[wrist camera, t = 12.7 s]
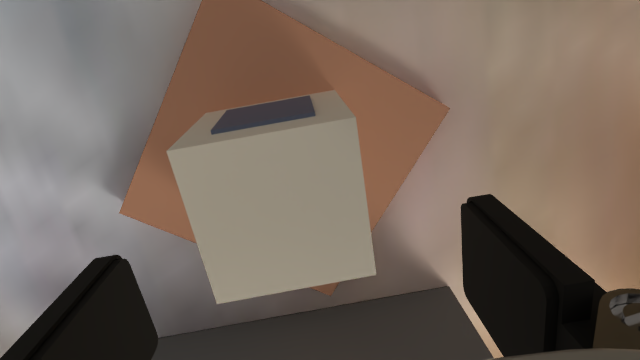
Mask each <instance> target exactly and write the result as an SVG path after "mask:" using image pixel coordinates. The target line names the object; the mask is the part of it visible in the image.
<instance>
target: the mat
mask: <svg viewBox="0 0 640 360" xmlns="http://www.w3.org/2000/svg"><path fill="white" fill-rule="evenodd" d="M331 90H335V91H336V92H337V93H338V95H339V96H340V97H341V99H342V100H343V101H344V103H345V104H346V105H347V106H348V108H349V109H350V110H351V112H352V113H353V114H354V115H355V117H356V122H357V130H358V138H359V145H360V153H361V161H362V168H363V176H364V184H365V191H366V199H367V207H368V214H369V222H370V229H371V232H372V230H373V229H374V227H375V226H376V224H377V223H378V221H379V219H380V218H381V216H382V215H383V213H384V212H385V210H386V208H387V207H388V205H389V204H390V202H391V201H392V199H393V197H394V196H395V194H396V193H397V191H398V190H399V188H400V186H401V185H402V183H403V182H404V180H405V179H406V177H407V175H408V174H409V172H410V171H411V169H412V168H413V166H414V164H415V163H416V161H417V160H418V158H419V157H420V155H421V153H422V152H423V150H424V149H425V147H426V146H427V144H428V142H429V141H430V139H431V138H432V136H433V135H434V133H435V131H436V130H437V128H438V127H439V125H440V124H441V122H442V120H443V119H444V117H445V116H446V114H447V113H448V111H449V109H450V108H449V107H447V106H445V105H444V104H442V103H440V102H438V101H437V100H435V99H433V98H431V97H430V96H428V95H426V94H424V93H423V92H421V91H419V90H417V89H416V88H414V87H412V86H410V85H408V84H407V83H405V82H403V81H401V80H400V79H398V78H396V77H394V76H393V75H391V74H389V73H387V72H386V71H384V70H382V69H380V68H379V67H377V66H375V65H373V64H372V63H370V62H368V61H366V60H365V59H363V58H361V57H359V56H358V55H356V54H354V53H352V52H351V51H349V50H347V49H345V48H344V47H342V46H340V45H338V44H337V43H335V42H333V41H331V40H330V39H328V38H326V37H324V36H323V35H321V34H319V33H317V32H315V31H314V30H312V29H310V28H308V27H307V26H305V25H303V24H301V23H300V22H298V21H296V20H294V19H293V18H291V17H289V16H287V15H286V14H284V13H282V12H280V11H279V10H277V9H275V8H273V7H272V6H270V5H268V4H266V3H265V2H263V1H261V0H202V2H201V4H200V7H199V10H198V12H197V15H196V17H195V20H194V22H193V25H192V28H191V30H190V33H189V35H188V38H187V40H186V43H185V46H184V48H183V51H182V53H181V56H180V58H179V61H178V63H177V66H176V69H175V71H174V74H173V76H172V79H171V81H170V84H169V87H168V89H167V92H166V94H165V97H164V99H163V102H162V105H161V107H160V110H159V112H158V115H157V117H156V120H155V123H154V125H153V128H152V130H151V133H150V135H149V138H148V140H147V143H146V146H145V148H144V151H143V153H142V156H141V158H140V161H139V164H138V166H137V169H136V171H135V174H134V176H133V179H132V182H131V184H130V187H129V189H128V192H127V194H126V197H125V199H124V202H123V205H122V207H121V210H120V212H119V213H120V214H123V215H125V216H128V217H131V218H133V219H136V220H138V221H141V222H143V223H146V224H148V225H151V226H154V227H156V228H159V229H161V230H164V231H166V232H169V233H171V234H174V235H176V236H179V237H182V238H184V239H187V240H189V241H192V242H194V243H197V242H196V239H195V236H194V233H193V230H192V227H191V224H190V221H189V218H188V215H187V212H186V209H185V206H184V203H183V200H182V197H181V194H180V191H179V188H178V185H177V182H176V179H175V176H174V173H173V170H172V167H171V164H170V161H169V158H168V155H167V152H166V151H167V150H168V149H169V148H170V147H171V146H172V145H173V144H174V143H175V142H176V141H177V140H178V139H179V138H180V137H182V136H183V135H184V134H185V133H186V132H187V131H188V130H189V129H190V128H191V127H192V126H193V125H194V124H195V123H196V122H197V121H198V120H199V119H200V118H201V117H202V116H203V115H204V114H205V113H208V112H214V111H219V110H225V109H230V108H236V107H242V106H247V105H253V104H258V103H264V102H270V101H275V100H281V99H286V98H292V97H297V96H303V95H309V94H314V93H320V92H325V91H331ZM338 284H339V282H335V283H330V284H324V285H319V286H314V287H309V288H312V289H314V290H317V291H319V292H322V293H324V294H327V295H330V296H331V295H332V293H333V292H334V290H335V289H336V287H337V285H338Z"/></svg>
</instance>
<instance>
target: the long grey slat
mask: <svg viewBox="0 0 640 360" xmlns="http://www.w3.org/2000/svg"><path fill="white" fill-rule="evenodd" d="M488 359H494V358H493V356H492V354H491V353H490V351H489V350H488V348H487V346H486V345H485V343H484V342H483V340H482V338H481V337H480V335H479V334H478V332H477V330H476V329H475V327H474V326H473V324H472V322H471V321H470V319H469V318H468V316H467V314H466V313H465V311H464V310H463V308H462V306H461V305H460V303H459V302H458V300H457V298H456V297H455V295H454V294H453V292H452V290H451V289H450V287H449V286H448V287H442V288H437V289H431V290H426V291H420V292H414V293H409V294H403V295H398V296H392V297H387V298H381V299H375V300H370V301H364V302H359V303H353V304H348V305H342V306H336V307H331V308H325V309H320V310H314V311H309V312H303V313H297V314H292V315H286V316H281V317H275V318H269V319H264V320H258V321H253V322H247V323H242V324H236V325H230V326H225V327H219V328H214V329H208V330H203V331H197V332H191V333H186V334H180V335H175V336H169V337H164V338H158V345H157V348H156V351H155V353H154V355H153V357H152V359H151V360H488Z"/></svg>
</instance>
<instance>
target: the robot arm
mask: <svg viewBox="0 0 640 360" xmlns="http://www.w3.org/2000/svg"><path fill="white" fill-rule="evenodd" d="M461 229H462V261H463V287H464V292H465V295H466V297H467V299H468V301H469V302H470V304H471V306H472V307H473V309H474V310H475V312H476V313H477V315H478V317H479V318H480V320H481V321H482V323H483V325H484V326H485V328H486V329H487V331H488V332H489V334H490V336H491V337H492V339H493V340H494V342H495V344H496V345H497V347H498V348H499V350H500V352H501V353H502V355H503V356H504V357H501V358H494V359H488V360H640V290H639V289H617V290H613V291H609V292H608V293H607V292H606V291H605V290H603V289H602V288H601V287H600V286H599V285H597V284H596V283H595V280H594V279H593V278H591V277H590V276H589V275H588V274H587V273H585V272H584V271H583V270H582V269H581V268H579V267H578V266H577V265H576V264H574V263H573V262H572V261H571V260H570V259H568V258H567V257H566V256H565V255H564V254H562V253H561V252H560V251H559V250H558V249H556V248H555V247H554V246H553V245H552V244H550V243H549V242H548V241H547V240H546V239H544V238H543V237H542V236H541V235H540V234H538V233H537V232H536V231H535V230H534V229H532V228H531V227H530V226H529V225H528V224H526V223H525V222H524V221H523V220H521V219H520V218H519V217H518V216H517V215H515V214H514V213H513V212H512V211H511V210H509V209H508V208H507V207H506V206H505V205H503V204H502V203H501V202H500V201H499V200H497V199H496V198H495V197H494V196H493V195H491V194H487V195H481V196H475V197H469V198H468V199H467V203H464V204H462V205H461ZM157 345H158V335H157V332H156V329H155V327H154V324H153V322H152V319H151V317H150V314H149V312H148V309H147V307H146V304H145V302H144V299H143V296H142V294H141V291H140V289H139V286H138V284H137V281H136V279H135V276H134V274H133V271H132V269H131V266H130V264H129V262H128V261H127V260H126V259H122V258H121V257H120V256H119V255H113V256H107V257H101V258H95V259H94V260H93V261H92V262H91V263H90V264H89V265H88V266H87V267H86V268H85V269H84V270H83V271H82V272H81V273H80V274H79V276H78V277H77V278H76V279H75V280H74V281H73V282H72V283H71V284H70V285H69V286H68V287H67V288H66V289H65V290H64V291H63V292H62V294H61V295H60V296H59V297H58V298H57V299H56V300H55V301H54V302H53V303H52V304H51V305H50V306H49V307H48V308H47V309H46V311H45V312H44V313H43V314H42V315H41V316H40V317H39V318H38V319H37V320H36V321H35V322H34V323H33V324H32V325H31V326H30V327H29V329H28V330H27V331H26V332H25V333H24V334H23V335H22V336H21V337H20V338H19V339H18V340H17V341H16V342H15V343H14V344H13V345H12V347H11V348H10V349H9V350H8V351H7V352H6V353H5V354H4V355H3V356H2V357H1V358H0V360H151V359H152V357H153V355H154V353H155V351H156V348H157Z"/></svg>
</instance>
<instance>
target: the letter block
mask: <svg viewBox="0 0 640 360" xmlns="http://www.w3.org/2000/svg"><path fill="white" fill-rule="evenodd" d="M166 152H167V155H168V158H169V161H170V164H171V167H172V170H173V173H174V176H175V179H176V182H177V185H178V188H179V191H180V194H181V197H182V200H183V203H184V206H185V209H186V212H187V215H188V218H189V221H190V224H191V227H192V230H193V233H194V236H195V239H196V242H197V245H198V248H199V251H200V254H201V258H202V261H203V264H204V267H205V270H206V273H207V276H208V279H209V282H210V285H211V288H212V291H213V294H214V297H215V300H216V303H217V304H221V303H227V302H232V301H237V300H243V299H248V298H254V297H259V296H265V295H270V294H276V293H281V292H286V291H292V290H297V289H303V288H308V287H314V286H319V285H324V284H330V283H335V282H341V281H346V280H352V279H357V278H363V277H368V276H373V275H376V268H375V260H374V252H373V245H372V237H371V229H370V222H369V214H368V207H367V199H366V191H365V184H364V176H363V168H362V161H361V153H360V145H359V138H358V130H357V122H356V117H355V115H354V114H353V113H352V112H351V110H350V109H349V108H348V106H347V105H346V104H345V103H344V101H343V100H342V99H341V97H340V96H339V95H338V93H337V92H336V91H335V90H331V91H325V92H320V93H314V94H309V95H303V96H297V97H292V98H286V99H281V100H275V101H270V102H264V103H258V104H253V105H247V106H242V107H236V108H230V109H225V110H219V111H214V112H208V113H205V114H204V115H203V116H202V117H201V118H200V119H199V120H198V121H197V122H196V123H195V124H194V125H193V126H192V127H191V128H190V129H189V130H188V131H187V132H186V133H185V134H184V135H183V136H182V137H180V138H179V139H178V140H177V141H176V142H175V143H174V144H173V145H172V146H171V147H170V148H169V149H168V150H167V151H166Z"/></svg>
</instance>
